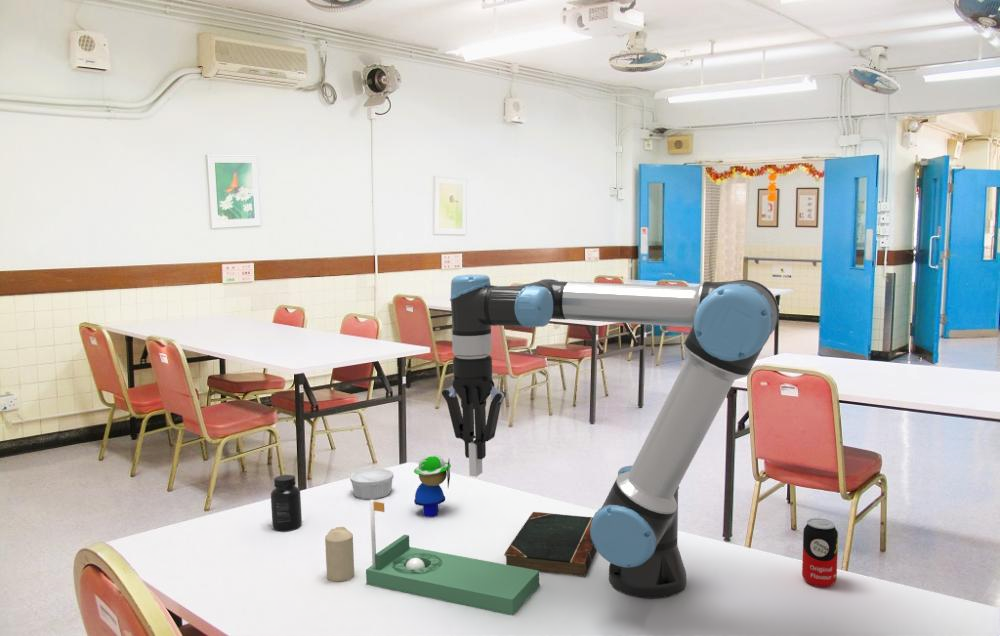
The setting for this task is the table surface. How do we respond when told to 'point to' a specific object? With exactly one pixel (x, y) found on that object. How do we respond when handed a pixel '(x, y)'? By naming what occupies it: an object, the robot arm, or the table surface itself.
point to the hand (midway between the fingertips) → (476, 474)
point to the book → (553, 544)
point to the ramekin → (372, 483)
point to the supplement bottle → (286, 504)
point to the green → (449, 575)
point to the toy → (431, 483)
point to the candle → (339, 554)
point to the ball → (415, 564)
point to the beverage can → (820, 552)
